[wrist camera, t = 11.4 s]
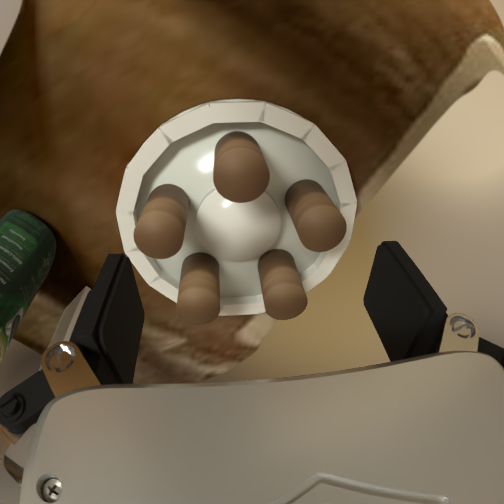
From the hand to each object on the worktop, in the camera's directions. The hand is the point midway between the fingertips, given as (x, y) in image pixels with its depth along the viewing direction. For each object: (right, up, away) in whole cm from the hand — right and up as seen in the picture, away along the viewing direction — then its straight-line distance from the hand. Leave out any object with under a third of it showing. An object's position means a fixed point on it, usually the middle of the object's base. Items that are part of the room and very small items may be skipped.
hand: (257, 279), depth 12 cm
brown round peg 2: (+5, +6, +17) cm, 19 cm away
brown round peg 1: (+2, 0, +21) cm, 21 cm away
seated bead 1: (-5, -1, +21) cm, 21 cm away
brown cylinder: (-8, +5, +16) cm, 19 cm away
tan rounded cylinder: (-1, +9, +14) cm, 17 cm away
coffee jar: (-26, +2, +18) cm, 31 cm away
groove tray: (-2, +4, +19) cm, 19 cm away
